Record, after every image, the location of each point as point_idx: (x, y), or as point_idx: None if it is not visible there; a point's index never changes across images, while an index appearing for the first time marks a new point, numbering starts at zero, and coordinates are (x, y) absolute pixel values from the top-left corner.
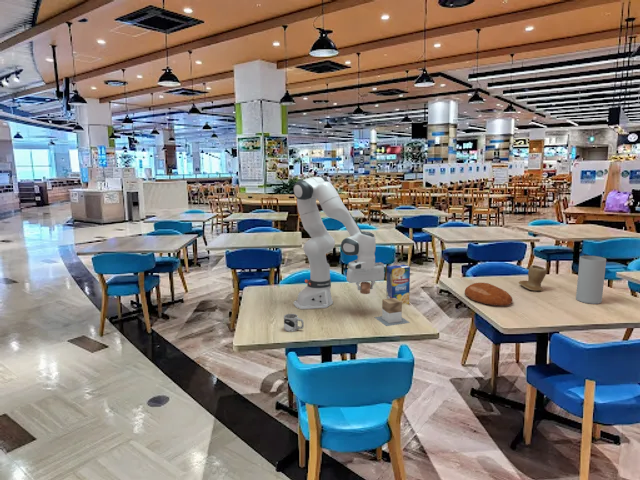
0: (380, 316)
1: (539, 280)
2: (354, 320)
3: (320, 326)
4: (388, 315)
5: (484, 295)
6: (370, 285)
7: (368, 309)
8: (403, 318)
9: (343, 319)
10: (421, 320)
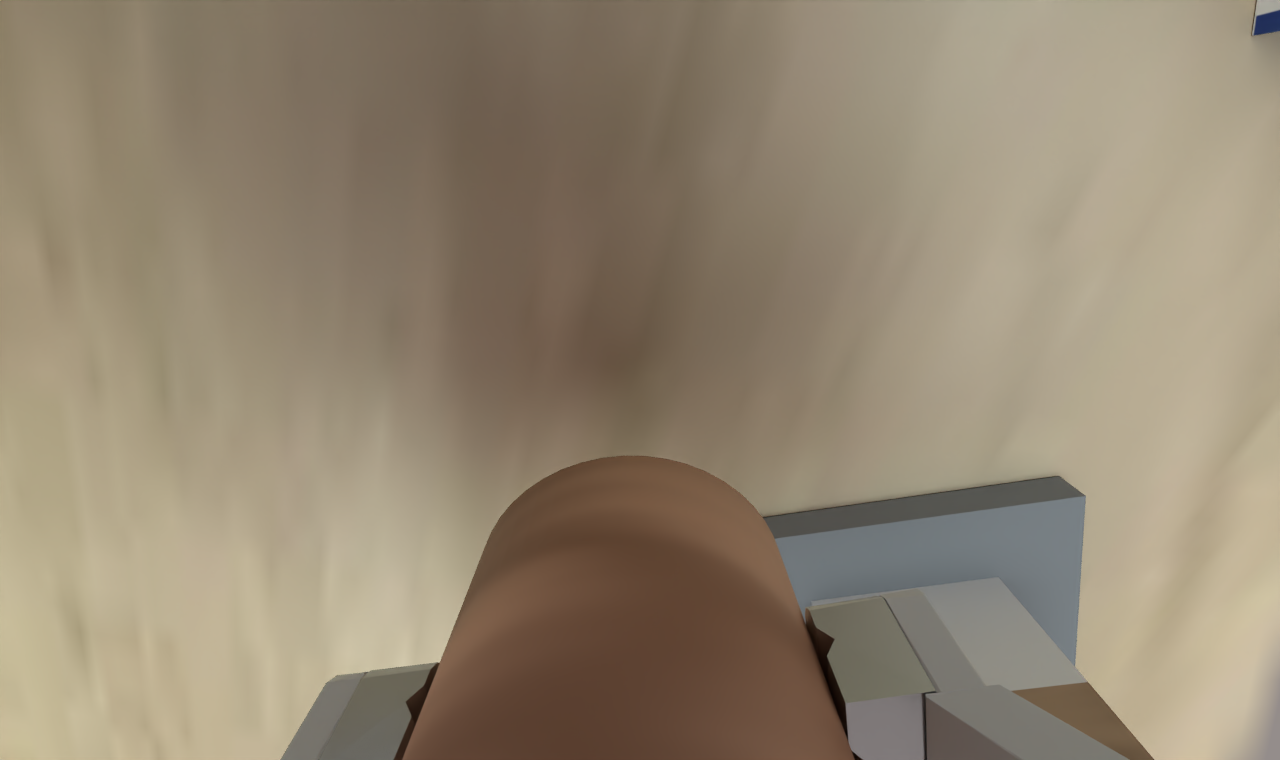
0: (818, 536)
1: None
2: (468, 488)
3: (49, 583)
4: None
5: None
6: (910, 735)
7: (793, 71)
8: (1074, 649)
9: (327, 429)
10: (1275, 636)
